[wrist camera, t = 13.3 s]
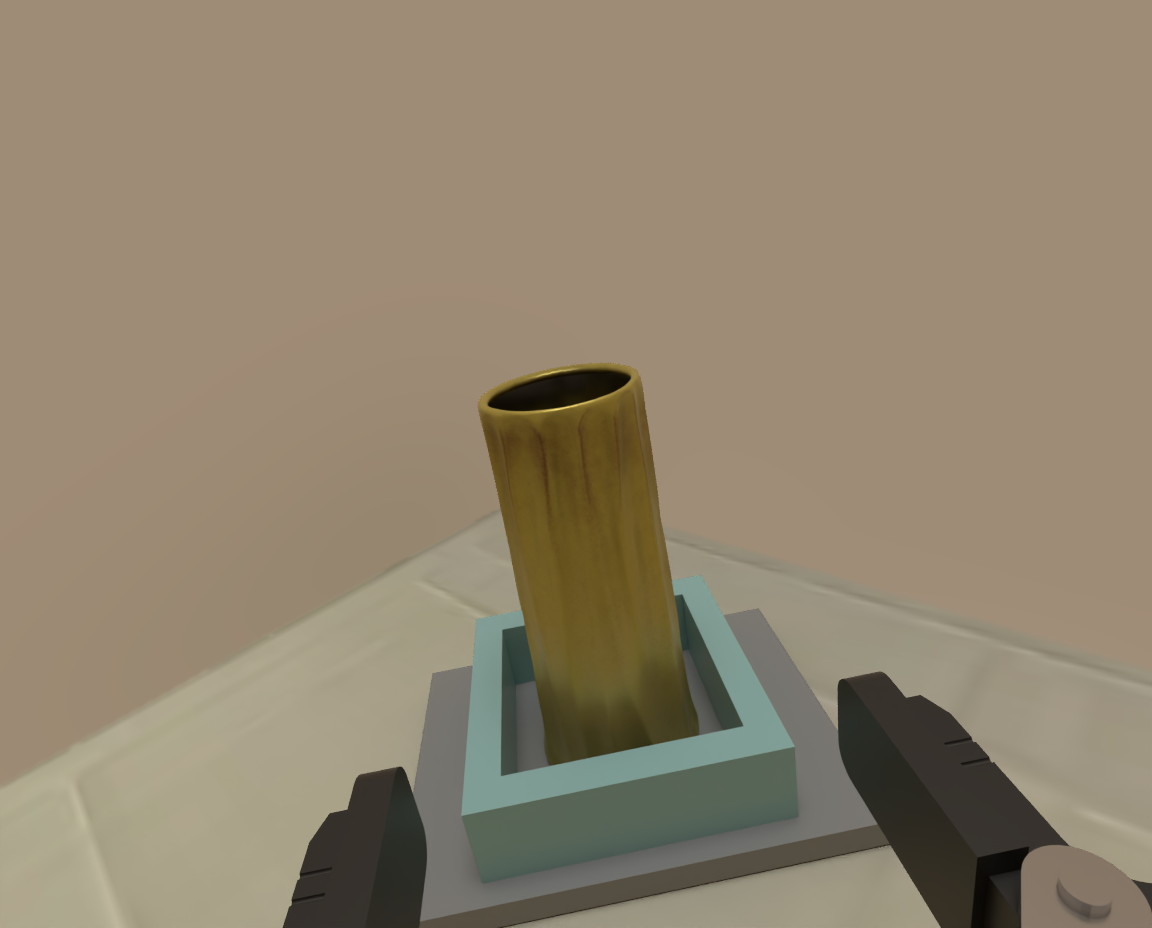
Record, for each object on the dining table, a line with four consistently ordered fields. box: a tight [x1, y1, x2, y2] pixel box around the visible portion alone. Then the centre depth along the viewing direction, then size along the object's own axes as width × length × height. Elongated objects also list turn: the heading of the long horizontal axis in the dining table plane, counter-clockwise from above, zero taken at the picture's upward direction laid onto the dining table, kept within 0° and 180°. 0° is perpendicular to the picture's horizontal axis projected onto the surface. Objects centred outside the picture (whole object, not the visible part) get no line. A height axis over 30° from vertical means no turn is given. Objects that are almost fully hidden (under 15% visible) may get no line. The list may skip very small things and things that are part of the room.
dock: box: [413, 575, 890, 928], centre depth 26 cm, size 16×12×4 cm
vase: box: [478, 363, 699, 766], centre depth 23 cm, size 6×6×14 cm
